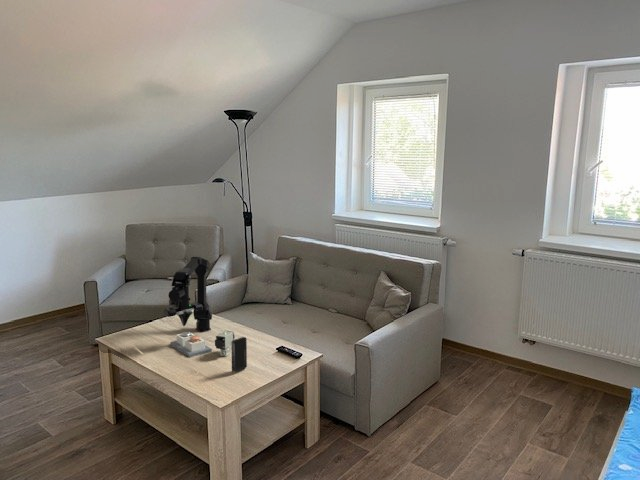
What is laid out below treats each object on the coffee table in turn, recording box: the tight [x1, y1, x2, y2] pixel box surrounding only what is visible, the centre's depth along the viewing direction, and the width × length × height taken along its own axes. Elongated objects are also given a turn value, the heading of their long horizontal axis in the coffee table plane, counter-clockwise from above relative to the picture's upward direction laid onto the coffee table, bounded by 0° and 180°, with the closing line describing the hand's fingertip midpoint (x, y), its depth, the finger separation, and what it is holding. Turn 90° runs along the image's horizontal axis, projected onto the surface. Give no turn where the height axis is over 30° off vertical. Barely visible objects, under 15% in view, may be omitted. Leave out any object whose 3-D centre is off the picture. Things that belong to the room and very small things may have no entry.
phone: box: [230, 336, 248, 373], centre depth 225 cm, size 8×1×15 cm, turn 138°
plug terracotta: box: [190, 334, 201, 343], centre depth 248 cm, size 5×5×5 cm
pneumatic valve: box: [214, 330, 236, 358], centre depth 243 cm, size 6×12×12 cm, turn 161°
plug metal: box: [180, 331, 192, 338], centre depth 255 cm, size 5×5×5 cm
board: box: [169, 332, 213, 358], centre depth 252 cm, size 12×22×6 cm, turn 40°
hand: (184, 325), depth 251 cm, fingers closed
